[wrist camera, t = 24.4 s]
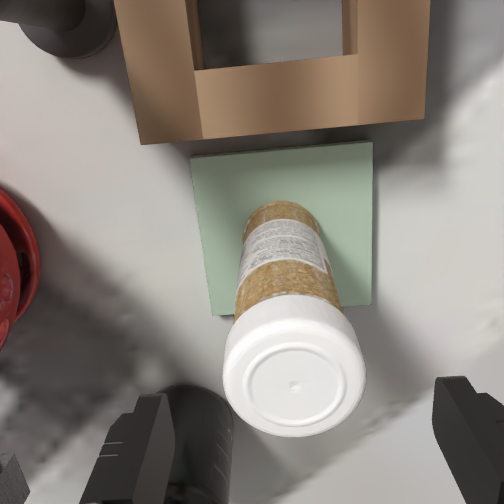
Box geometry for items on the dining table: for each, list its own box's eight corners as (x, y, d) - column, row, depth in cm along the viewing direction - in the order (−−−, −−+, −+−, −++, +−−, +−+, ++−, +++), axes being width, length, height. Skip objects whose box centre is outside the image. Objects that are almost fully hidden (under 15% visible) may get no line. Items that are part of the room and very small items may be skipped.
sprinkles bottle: (305, 278, 27) (339, 457, 15) (233, 259, 27) (205, 426, 14) (330, 208, 25) (392, 345, 13) (253, 187, 25) (242, 307, 13)
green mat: (213, 309, 29) (212, 315, 28) (191, 156, 25) (189, 158, 24) (368, 298, 28) (371, 304, 28) (369, 139, 25) (372, 142, 24)
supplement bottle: (154, 457, 34) (101, 643, 23) (131, 386, 32) (60, 558, 21) (242, 448, 34) (231, 635, 23) (226, 375, 31) (205, 546, 20)
